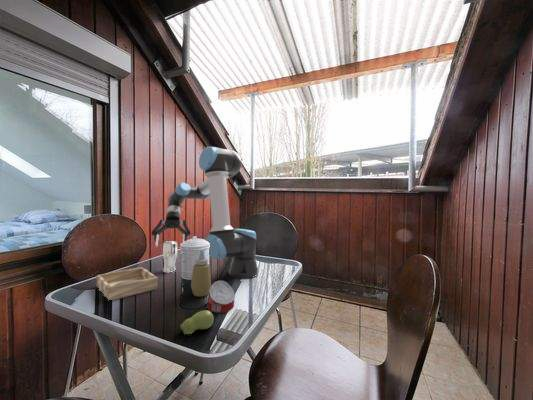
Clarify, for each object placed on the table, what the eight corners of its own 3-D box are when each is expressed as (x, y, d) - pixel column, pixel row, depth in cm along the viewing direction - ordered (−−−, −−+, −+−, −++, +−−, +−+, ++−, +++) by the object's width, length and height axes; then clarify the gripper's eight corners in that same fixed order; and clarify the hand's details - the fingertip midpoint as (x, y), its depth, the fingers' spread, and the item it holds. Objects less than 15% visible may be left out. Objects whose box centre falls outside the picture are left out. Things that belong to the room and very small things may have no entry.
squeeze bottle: (214, 293, 103) (216, 250, 102) (200, 300, 96) (201, 254, 96) (201, 288, 107) (202, 247, 107) (186, 294, 100) (187, 250, 100)
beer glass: (171, 273, 124) (172, 244, 124) (159, 272, 125) (160, 243, 125) (179, 269, 131) (180, 241, 130) (167, 268, 132) (168, 240, 132)
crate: (157, 289, 105) (157, 277, 105) (108, 301, 92) (108, 288, 92) (141, 277, 117) (142, 267, 117) (96, 286, 104) (96, 275, 104)
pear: (215, 312, 76) (182, 326, 71) (217, 328, 77) (184, 343, 71) (208, 304, 81) (177, 317, 75) (210, 319, 81) (179, 333, 76)
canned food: (229, 313, 97) (242, 290, 97) (225, 324, 87) (240, 298, 87) (204, 298, 97) (217, 275, 98) (197, 307, 87) (212, 282, 88)
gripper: (195, 218, 153) (194, 248, 139) (151, 218, 146) (145, 249, 132) (195, 211, 148) (194, 241, 134) (149, 210, 141) (143, 241, 127)
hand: (170, 245), depth 133 cm, fingers open, 13 cm apart
